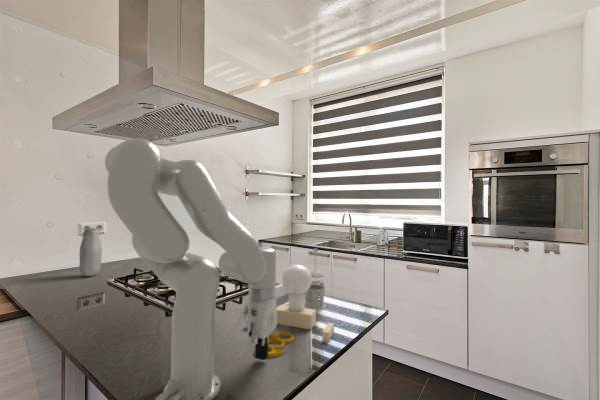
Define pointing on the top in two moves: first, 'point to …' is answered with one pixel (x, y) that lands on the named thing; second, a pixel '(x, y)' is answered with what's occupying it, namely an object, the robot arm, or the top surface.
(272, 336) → the novelty glasses
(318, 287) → the french press
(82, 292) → the top surface
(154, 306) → the top surface
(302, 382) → the top surface
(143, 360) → the top surface
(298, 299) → the cream blocks and ball
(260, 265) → the robot arm
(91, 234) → the glass bottle
